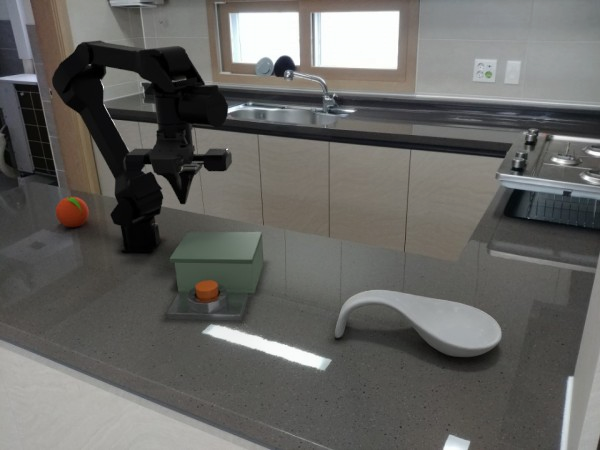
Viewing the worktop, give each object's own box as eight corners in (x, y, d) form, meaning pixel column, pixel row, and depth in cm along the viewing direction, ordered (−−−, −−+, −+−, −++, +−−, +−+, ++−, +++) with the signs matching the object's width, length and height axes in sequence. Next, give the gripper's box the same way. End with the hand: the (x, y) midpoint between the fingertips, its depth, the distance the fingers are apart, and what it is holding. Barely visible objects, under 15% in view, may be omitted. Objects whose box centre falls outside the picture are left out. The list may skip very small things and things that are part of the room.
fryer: (178, 292, 95) (174, 262, 92) (195, 262, 105) (192, 235, 103) (254, 293, 93) (252, 264, 91) (263, 263, 104) (262, 236, 102)
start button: (193, 300, 87) (192, 290, 86) (199, 289, 90) (198, 280, 89) (215, 300, 86) (214, 291, 86) (220, 289, 90) (219, 280, 89)
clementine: (99, 226, 123) (94, 196, 120) (70, 235, 118) (64, 205, 115) (81, 217, 128) (76, 189, 125) (53, 227, 123) (46, 198, 120)
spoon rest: (494, 326, 83) (499, 286, 80) (504, 375, 72) (511, 330, 69) (341, 312, 87) (342, 273, 85) (330, 355, 77) (330, 313, 74)
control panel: (167, 319, 87) (165, 303, 85) (179, 297, 93) (177, 281, 92) (240, 321, 86) (239, 305, 84) (248, 298, 92) (247, 283, 91)
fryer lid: (169, 262, 92) (169, 258, 92) (188, 235, 103) (187, 231, 103) (252, 263, 91) (252, 259, 91) (262, 235, 102) (262, 231, 101)
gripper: (104, 132, 88) (119, 219, 95) (215, 131, 87) (223, 220, 93) (129, 118, 99) (141, 197, 105) (229, 117, 97) (235, 198, 103)
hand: (183, 203), depth 101 cm, fingers closed
